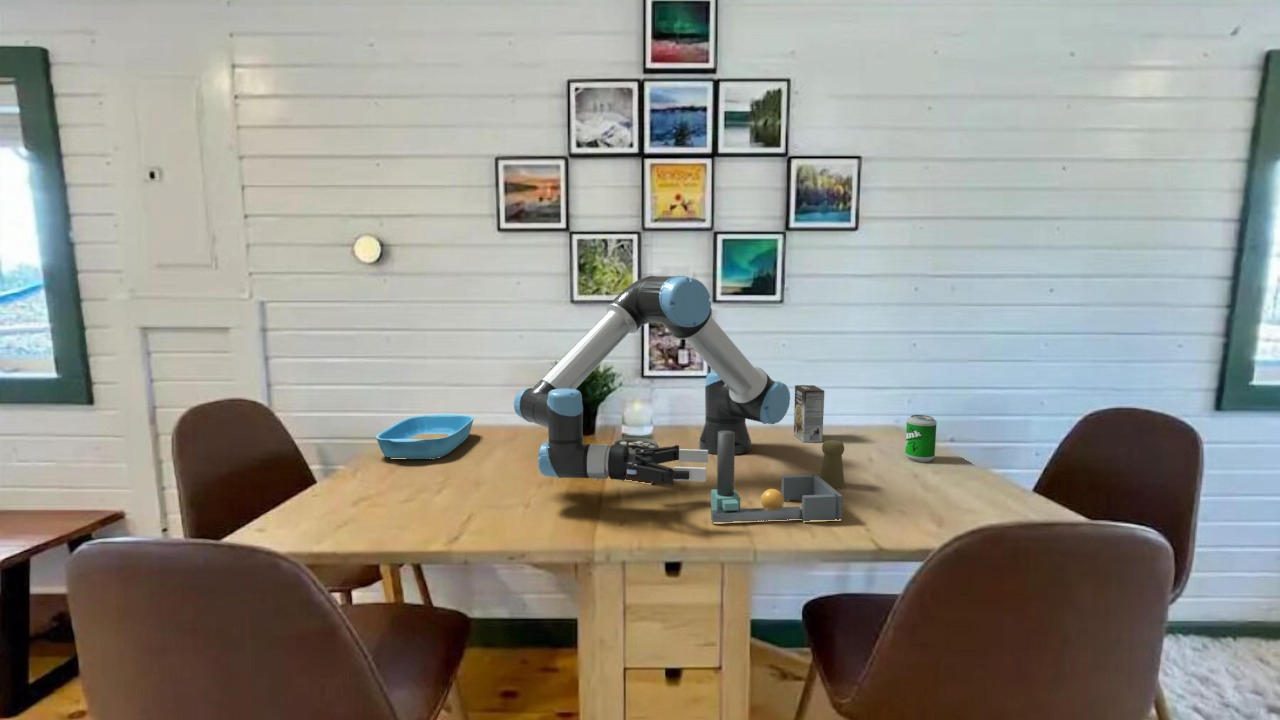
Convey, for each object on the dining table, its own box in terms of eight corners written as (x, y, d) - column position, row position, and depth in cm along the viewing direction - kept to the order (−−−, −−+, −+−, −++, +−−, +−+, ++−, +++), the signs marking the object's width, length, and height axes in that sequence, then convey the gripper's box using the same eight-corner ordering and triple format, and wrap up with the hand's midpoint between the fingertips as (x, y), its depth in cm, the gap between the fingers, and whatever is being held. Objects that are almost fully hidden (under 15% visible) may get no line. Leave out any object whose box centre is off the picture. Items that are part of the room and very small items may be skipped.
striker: (719, 521, 142) (720, 439, 140) (710, 507, 151) (711, 429, 148) (743, 520, 143) (744, 438, 140) (733, 506, 151) (734, 428, 149)
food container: (667, 478, 172) (667, 440, 171) (657, 486, 167) (657, 446, 165) (623, 472, 177) (623, 435, 176) (612, 479, 172) (612, 441, 170)
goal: (803, 523, 142) (804, 497, 141) (781, 498, 157) (781, 475, 156) (842, 521, 143) (842, 496, 142) (816, 497, 158) (816, 474, 157)
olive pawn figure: (815, 481, 170) (816, 438, 168) (839, 480, 170) (840, 437, 169) (824, 489, 164) (825, 444, 162) (848, 488, 164) (850, 443, 163)
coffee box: (792, 435, 215) (794, 385, 213) (812, 434, 216) (814, 384, 214) (802, 442, 206) (804, 390, 204) (823, 442, 207) (825, 389, 205)
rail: (713, 524, 142) (713, 513, 141) (711, 521, 144) (711, 510, 143) (801, 520, 144) (802, 509, 143) (798, 517, 146) (798, 506, 145)
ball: (757, 513, 148) (758, 491, 147) (764, 506, 152) (764, 484, 152) (780, 517, 146) (780, 494, 145) (786, 509, 150) (787, 487, 149)
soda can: (929, 456, 192) (931, 414, 190) (938, 463, 184) (940, 420, 183) (901, 455, 192) (903, 413, 191) (909, 463, 185) (911, 419, 183)
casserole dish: (413, 433, 222) (412, 411, 221) (481, 433, 221) (481, 411, 220) (365, 466, 185) (363, 440, 184) (446, 466, 184) (445, 440, 183)
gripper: (619, 462, 162) (708, 465, 159) (599, 497, 138) (704, 501, 135) (618, 431, 161) (709, 433, 158) (598, 461, 137) (704, 464, 134)
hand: (707, 465), depth 147 cm, fingers open, 13 cm apart
